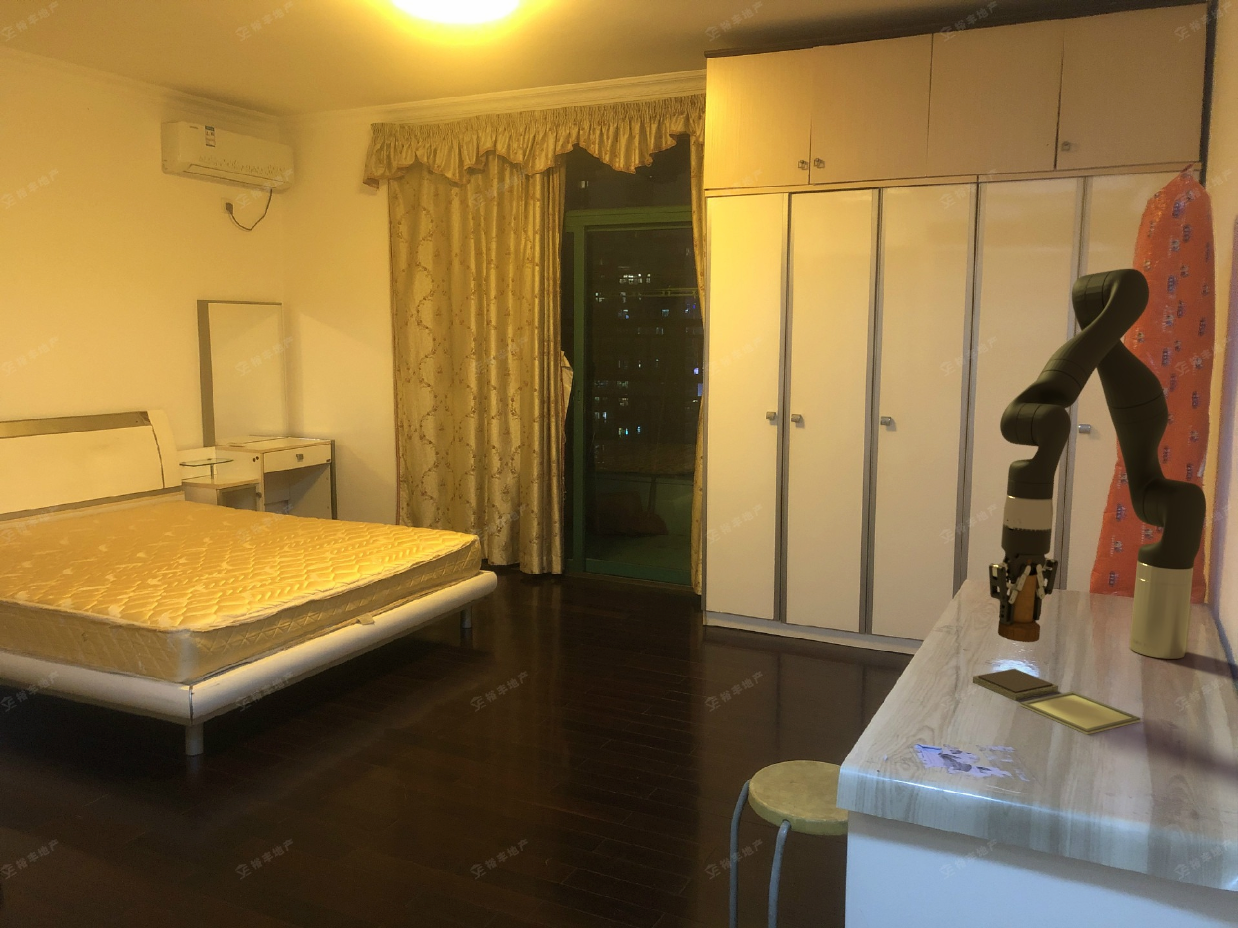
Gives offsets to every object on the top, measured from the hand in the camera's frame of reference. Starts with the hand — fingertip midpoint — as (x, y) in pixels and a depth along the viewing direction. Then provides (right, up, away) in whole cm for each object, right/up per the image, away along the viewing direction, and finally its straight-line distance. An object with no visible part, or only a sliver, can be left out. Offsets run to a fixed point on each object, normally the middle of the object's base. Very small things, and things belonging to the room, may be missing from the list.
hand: (1019, 621), depth 158 cm
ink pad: (0, -11, +1) cm, 12 cm away
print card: (+5, -13, -10) cm, 17 cm away
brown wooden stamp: (0, -3, 0) cm, 3 cm away
